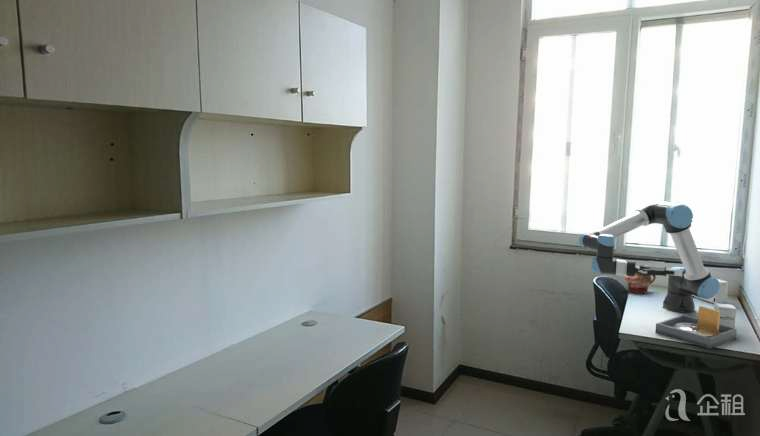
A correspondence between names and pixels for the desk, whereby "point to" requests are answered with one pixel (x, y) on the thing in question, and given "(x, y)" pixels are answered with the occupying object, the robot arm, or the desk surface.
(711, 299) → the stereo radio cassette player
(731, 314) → the supplement box
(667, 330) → the gray rectangular tray
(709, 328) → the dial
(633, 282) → the orange ceramic pot
